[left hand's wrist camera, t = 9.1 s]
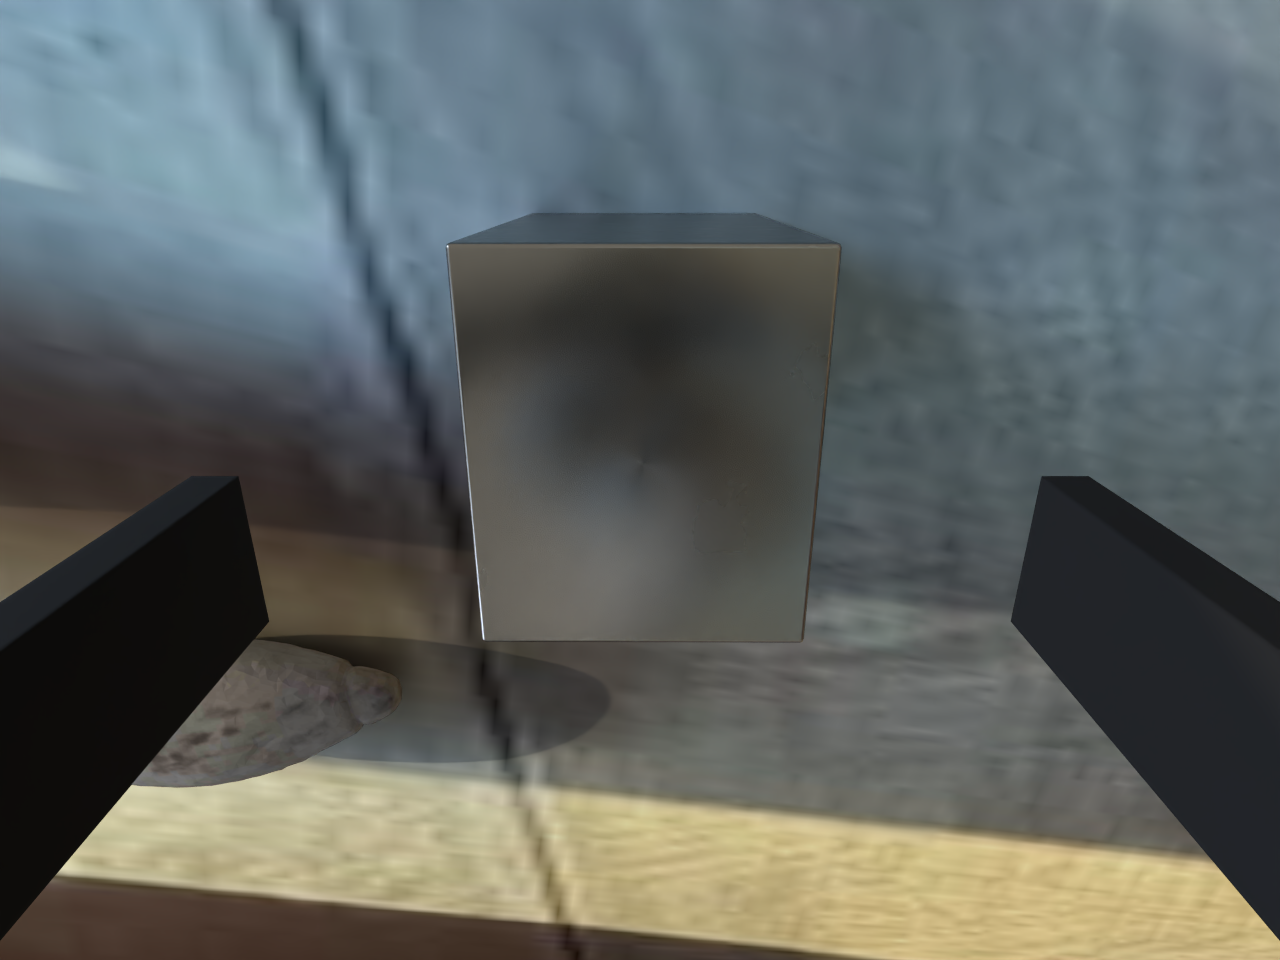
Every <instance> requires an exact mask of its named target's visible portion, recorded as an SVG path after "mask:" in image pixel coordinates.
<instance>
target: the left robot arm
mask: <svg viewBox="0 0 1280 960" xmlns="http://www.w3.org/2000/svg"><path fill="white" fill-rule="evenodd" d="M268 622H269V618H268V614H267V609H266V604H265V599H264V595H263V590H262V585H261V581H260V576H259V571H258V566H257V562H256V557H255V552H254V548H253V543H252V538H251V533H250V529H249V524H248V519H247V515H246V510H245V505H244V500H243V496H242V491H241V486H240V482H239V477H238V476H191V477H190V478H188V479H187V480H185V481H184V482H182V483H181V484H179V485H178V486H176V487H175V488H173V489H171V490H170V491H168V492H167V493H165V494H164V495H162V496H161V497H159V498H158V499H156V500H155V501H153V502H152V503H150V504H149V505H147V506H146V507H144V508H143V509H141V510H140V511H138V512H137V513H135V514H133V515H132V516H130V517H129V518H127V519H126V520H124V521H123V522H121V523H120V524H118V525H117V526H115V527H114V528H112V529H111V530H109V531H108V532H106V533H105V534H103V535H102V536H100V537H99V538H97V539H96V540H94V541H92V542H91V543H89V544H88V545H86V546H85V547H83V548H82V549H80V550H79V551H77V552H76V553H74V554H73V555H71V556H70V557H68V558H67V559H65V560H64V561H62V562H61V563H59V564H58V565H56V566H55V567H53V568H51V569H50V570H48V571H47V572H45V573H44V574H42V575H41V576H39V577H38V578H36V579H35V580H33V581H32V582H30V583H29V584H27V585H26V586H24V587H23V588H21V589H20V590H18V591H17V592H15V593H13V594H12V595H10V596H9V597H7V598H6V599H4V600H3V601H1V602H0V940H1V939H2V938H3V937H4V936H5V934H6V933H7V932H8V931H9V930H10V928H11V927H12V926H13V925H14V924H15V922H16V921H17V920H18V919H19V918H20V917H21V915H22V914H23V913H24V912H25V911H26V909H27V908H28V907H29V906H30V905H31V903H32V902H33V901H34V900H35V899H36V898H37V896H38V895H39V894H40V893H41V892H42V890H43V889H44V888H45V887H46V886H47V884H48V883H49V882H50V881H51V880H52V879H53V877H54V876H55V875H56V874H57V873H58V871H59V870H60V869H61V868H62V867H63V866H64V864H65V863H66V862H67V861H68V860H69V858H70V857H71V856H72V855H73V854H74V852H75V851H76V850H77V849H78V848H79V847H80V845H81V844H82V843H83V842H84V841H85V839H86V838H87V837H88V836H89V835H90V833H91V832H92V831H93V830H94V829H95V828H96V826H97V825H98V824H99V823H100V822H101V820H102V819H103V818H104V817H105V816H106V814H107V813H108V812H109V811H110V810H111V809H112V807H113V806H114V805H115V804H116V803H117V801H118V800H119V799H120V798H121V797H122V795H123V794H124V793H125V792H126V791H127V790H128V788H129V787H130V786H131V785H132V784H133V782H134V781H135V780H136V779H137V778H138V776H139V775H140V774H141V773H142V772H143V771H144V769H145V768H146V767H147V766H148V765H149V763H150V762H151V761H152V760H153V759H154V757H155V756H156V755H157V754H158V753H159V752H160V750H161V749H162V748H163V747H164V746H165V744H166V743H167V742H168V741H169V740H170V738H171V737H172V736H173V735H174V734H175V733H176V731H177V730H178V729H179V728H180V727H181V725H182V724H183V723H184V722H185V721H186V719H187V718H188V717H189V716H190V715H191V714H192V712H193V711H194V710H195V709H196V708H197V706H198V705H199V704H200V703H201V702H202V700H203V699H204V698H205V697H206V696H207V695H208V693H209V692H210V691H211V690H212V689H213V687H214V686H215V685H216V684H217V683H218V681H219V680H220V679H221V678H222V677H223V676H224V674H225V673H226V672H227V671H228V670H229V668H230V667H231V666H232V665H233V664H234V662H235V661H236V660H237V659H238V658H239V657H240V655H241V654H242V653H243V652H244V651H245V649H246V648H247V647H248V646H249V645H250V643H251V642H252V641H253V640H254V639H255V638H256V636H257V635H258V634H259V633H260V632H261V630H262V629H263V628H264V627H265V626H266V625H267V623H268ZM1011 622H1012V623H1013V625H1014V626H1015V627H1016V628H1017V629H1018V630H1019V632H1020V633H1021V634H1022V635H1023V636H1024V638H1025V639H1026V640H1027V641H1028V642H1029V643H1030V645H1031V646H1032V647H1033V648H1034V649H1035V651H1036V652H1037V653H1038V654H1039V655H1040V657H1041V658H1042V659H1043V660H1044V661H1045V662H1046V664H1047V665H1048V666H1049V667H1050V668H1051V670H1052V671H1053V672H1054V673H1055V674H1056V676H1057V677H1058V678H1059V679H1060V680H1061V681H1062V683H1063V684H1064V685H1065V686H1066V687H1067V689H1068V690H1069V691H1070V692H1071V693H1072V695H1073V696H1074V697H1075V698H1076V699H1077V700H1078V702H1079V703H1080V704H1081V705H1082V706H1083V708H1084V709H1085V710H1086V711H1087V712H1088V714H1089V715H1090V716H1091V717H1092V718H1093V719H1094V721H1095V722H1096V723H1097V724H1098V725H1099V727H1100V728H1101V729H1102V730H1103V731H1104V733H1105V734H1106V735H1107V736H1108V737H1109V738H1110V740H1111V741H1112V742H1113V743H1114V744H1115V746H1116V747H1117V748H1118V749H1119V750H1120V752H1121V753H1122V754H1123V755H1124V756H1125V757H1126V759H1127V760H1128V761H1129V762H1130V763H1131V765H1132V766H1133V767H1134V768H1135V769H1136V771H1137V772H1138V773H1139V774H1140V775H1141V776H1142V778H1143V779H1144V780H1145V781H1146V782H1147V784H1148V785H1149V786H1150V787H1151V788H1152V790H1153V791H1154V792H1155V793H1156V794H1157V795H1158V797H1159V798H1160V799H1161V800H1162V801H1163V803H1164V804H1165V805H1166V806H1167V807H1168V809H1169V810H1170V811H1171V812H1172V813H1173V814H1174V816H1175V817H1176V818H1177V819H1178V820H1179V822H1180V823H1181V824H1182V825H1183V826H1184V828H1185V829H1186V830H1187V831H1188V832H1189V833H1190V835H1191V836H1192V837H1193V838H1194V839H1195V841H1196V842H1197V843H1198V844H1199V845H1200V847H1201V848H1202V849H1203V850H1204V851H1205V852H1206V854H1207V855H1208V856H1209V857H1210V858H1211V860H1212V861H1213V862H1214V863H1215V864H1216V866H1217V867H1218V868H1219V869H1220V870H1221V871H1222V873H1223V874H1224V875H1225V876H1226V877H1227V879H1228V880H1229V881H1230V882H1231V883H1232V885H1233V886H1234V887H1235V888H1236V889H1237V890H1238V892H1239V893H1240V894H1241V895H1242V896H1243V898H1244V899H1245V900H1246V901H1247V902H1248V903H1249V905H1250V906H1251V907H1252V908H1253V909H1254V911H1255V912H1256V913H1257V914H1258V915H1259V917H1260V918H1261V919H1262V920H1263V921H1264V922H1265V924H1266V925H1267V926H1268V927H1269V928H1270V930H1271V931H1272V932H1273V933H1274V934H1275V936H1276V937H1277V938H1278V939H1279V940H1280V602H1279V601H1277V600H1276V599H1274V598H1273V597H1271V596H1270V595H1268V594H1267V593H1265V592H1263V591H1262V590H1260V589H1259V588H1257V587H1256V586H1254V585H1253V584H1251V583H1250V582H1248V581H1247V580H1245V579H1244V578H1242V577H1241V576H1239V575H1238V574H1236V573H1235V572H1233V571H1232V570H1230V569H1229V568H1227V567H1225V566H1224V565H1222V564H1221V563H1219V562H1218V561H1216V560H1215V559H1213V558H1212V557H1210V556H1209V555H1207V554H1206V553H1204V552H1203V551H1201V550H1200V549H1198V548H1197V547H1195V546H1194V545H1192V544H1191V543H1189V542H1188V541H1186V540H1184V539H1183V538H1181V537H1180V536H1178V535H1177V534H1175V533H1174V532H1172V531H1171V530H1169V529H1168V528H1166V527H1165V526H1163V525H1162V524H1160V523H1159V522H1157V521H1156V520H1154V519H1153V518H1151V517H1150V516H1148V515H1146V514H1145V513H1143V512H1142V511H1140V510H1139V509H1137V508H1136V507H1134V506H1133V505H1131V504H1130V503H1128V502H1127V501H1125V500H1124V499H1122V498H1121V497H1119V496H1118V495H1116V494H1115V493H1113V492H1112V491H1110V490H1109V489H1107V488H1105V487H1104V486H1102V485H1101V484H1099V483H1098V482H1096V481H1095V480H1093V479H1092V478H1090V477H1089V476H1042V477H1041V482H1040V486H1039V491H1038V496H1037V500H1036V505H1035V510H1034V515H1033V519H1032V524H1031V529H1030V533H1029V538H1028V543H1027V548H1026V552H1025V557H1024V562H1023V566H1022V571H1021V576H1020V581H1019V585H1018V590H1017V595H1016V599H1015V604H1014V609H1013V614H1012V618H1011Z"/></svg>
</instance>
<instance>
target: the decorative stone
mask: <svg viewBox="0 0 1280 960" xmlns="http://www.w3.org/2000/svg"><path fill="white" fill-rule="evenodd" d="M401 699H402V687H401V684H400V682H399V679H398V678H397V677H395V676H394V675H392V674H390V673H387V672H383V671H381V670H378V669H374V668H369V667H364V666H356V667H353V666H352V665H351V664H350V662H349V661H348V660H345V659H342V658H339V657H336V656H333V655H330V654H326V653H322V652H319V651H316V650H312V649H306V648H301V647H298V646H296V645H291V644H287V643H279V642H274V641H265V640H256V639H254V640H253V641H252V642H251V643H250V645H249V646H248V647H247V648H246V649H245V651H244V652H243V653H242V654H241V655H240V657H239V658H238V659H237V660H236V661H235V662H234V664H233V665H232V666H231V667H230V668H229V670H228V671H227V672H226V673H225V674H224V676H223V677H222V678H221V679H220V680H219V681H218V683H217V684H216V685H215V686H214V687H213V689H212V690H211V691H210V692H209V693H208V695H207V696H206V697H205V698H204V699H203V700H202V702H201V703H200V704H199V705H198V706H197V708H196V709H195V710H194V711H193V712H192V714H191V715H190V716H189V717H188V718H187V719H186V721H185V722H184V723H183V724H182V725H181V727H180V728H179V729H178V730H177V731H176V733H175V734H174V735H173V736H172V737H171V738H170V740H169V741H168V742H167V743H166V744H165V746H164V747H163V748H162V749H161V750H160V752H159V753H158V754H157V755H156V756H155V757H154V759H153V760H152V761H151V762H150V763H149V765H148V766H147V767H146V768H145V769H144V771H143V772H142V773H141V774H140V775H139V776H138V778H137V779H136V780H135V781H134V782H133V784H132V785H137V786H158V787H197V786H213V785H218V784H224V783H229V782H235V781H241V780H245V779H248V778H252V777H257V776H261V775H264V774H268V773H271V772H274V771H278V770H282V769H284V768H285V767H287V766H290V765H293V764H296V763H299V762H302V761H304V760H306V759H308V758H309V757H311V756H313V755H315V754H317V753H318V752H320V751H322V750H324V749H326V748H328V747H330V746H333V745H334V744H336V743H338V742H340V741H342V740H344V739H346V738H348V737H350V736H351V735H353V734H355V733H357V732H358V731H359V730H360V729H361V727H362V726H363V725H364V724H372V723H375V722H377V721H379V720H381V719H383V718H385V717H386V716H388V715H389V714H391V713H392V712H393V711H394V710H395V709H396V708H397V706H398V705H399V703H400V701H401Z"/></svg>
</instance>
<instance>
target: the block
mask: <svg viewBox="0 0 1280 960" xmlns="http://www.w3.org/2000/svg"><path fill="white" fill-rule="evenodd" d="M841 250H842V247H841V244H839V243H837V242H834V241H831V240H828V239H826V238H823V237H820V236H817V235H814V234H811V233H809V232H806V231H803V230H800V229H797V228H795V227H792V226H789V225H786V224H783V223H781V222H778V221H775V220H772V219H769V218H767V217H764V216H761V215H758V214H755V213H532V214H529V215H526V216H524V217H521V218H518V219H515V220H512V221H510V222H507V223H504V224H501V225H498V226H495V227H493V228H490V229H487V230H484V231H481V232H479V233H476V234H473V235H470V236H467V237H464V238H462V239H459V240H456V241H453V242H450V243H448V244H447V245H446V255H447V266H448V277H449V287H450V298H451V309H452V320H453V330H454V341H455V352H456V362H457V373H458V384H459V394H460V405H461V416H462V426H463V437H464V448H465V459H466V469H467V480H468V491H469V501H470V512H471V523H472V533H473V544H474V555H475V566H476V576H477V587H478V598H479V608H480V619H481V630H482V638H483V640H484V641H516V642H802V641H803V639H804V631H805V621H806V611H807V600H808V590H809V580H810V569H811V559H812V549H813V538H814V528H815V518H816V508H817V497H818V487H819V477H820V466H821V456H822V446H823V436H824V425H825V415H826V405H827V394H828V384H829V374H830V364H831V353H832V343H833V333H834V322H835V312H836V302H837V292H838V281H839V271H840V261H841Z"/></svg>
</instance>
